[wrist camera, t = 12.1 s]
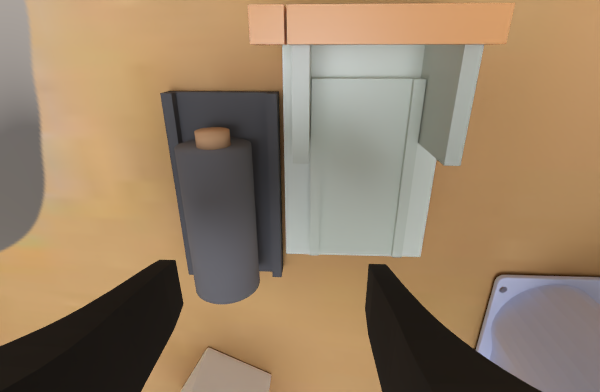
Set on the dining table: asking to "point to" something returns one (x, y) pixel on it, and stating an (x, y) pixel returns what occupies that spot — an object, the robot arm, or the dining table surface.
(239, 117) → the dark grey roller cradle
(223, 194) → the grey roller spool
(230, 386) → the milk
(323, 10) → the long tan wooden plank
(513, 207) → the dining table surface
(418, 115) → the white roller cradle
